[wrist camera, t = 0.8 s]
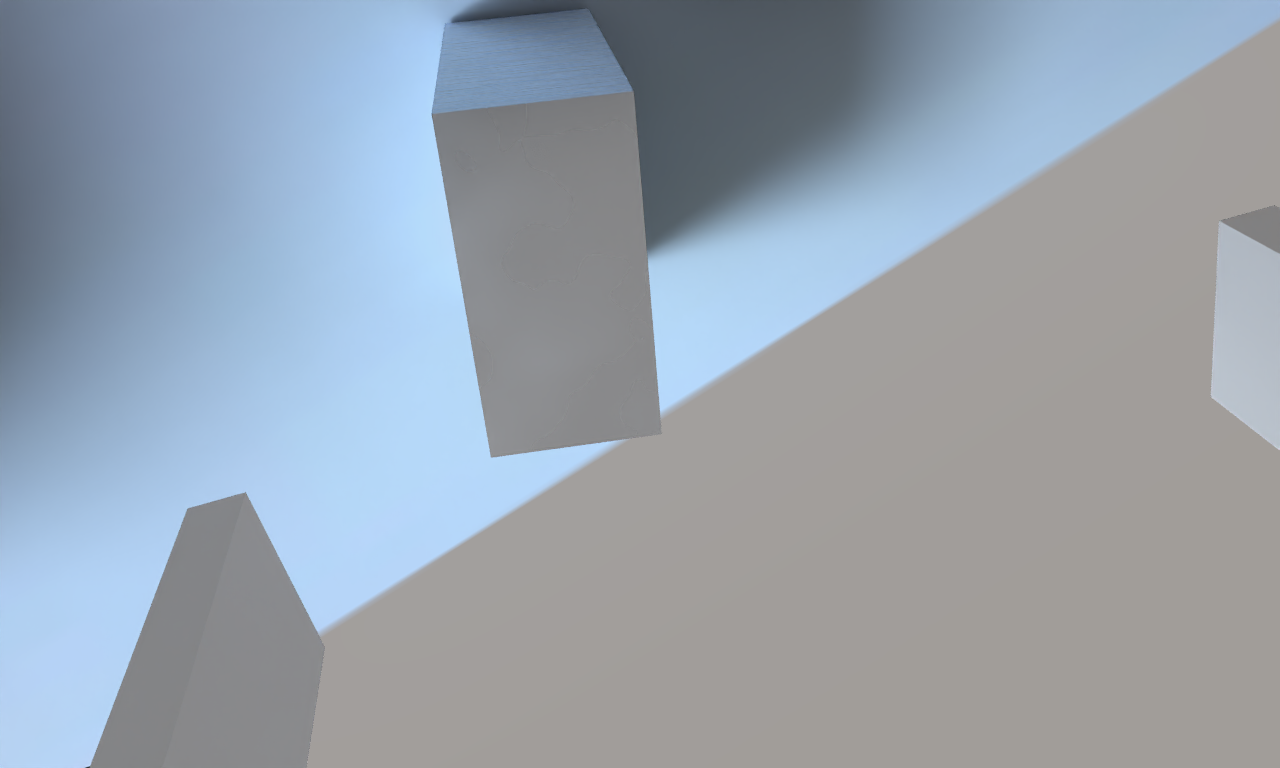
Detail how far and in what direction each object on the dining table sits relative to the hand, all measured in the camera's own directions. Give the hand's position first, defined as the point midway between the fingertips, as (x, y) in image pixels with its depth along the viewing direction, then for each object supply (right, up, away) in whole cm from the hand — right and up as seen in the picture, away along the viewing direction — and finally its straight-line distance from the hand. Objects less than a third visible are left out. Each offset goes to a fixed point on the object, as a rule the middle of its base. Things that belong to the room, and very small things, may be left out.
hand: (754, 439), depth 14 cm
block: (-5, +7, +17) cm, 20 cm away
